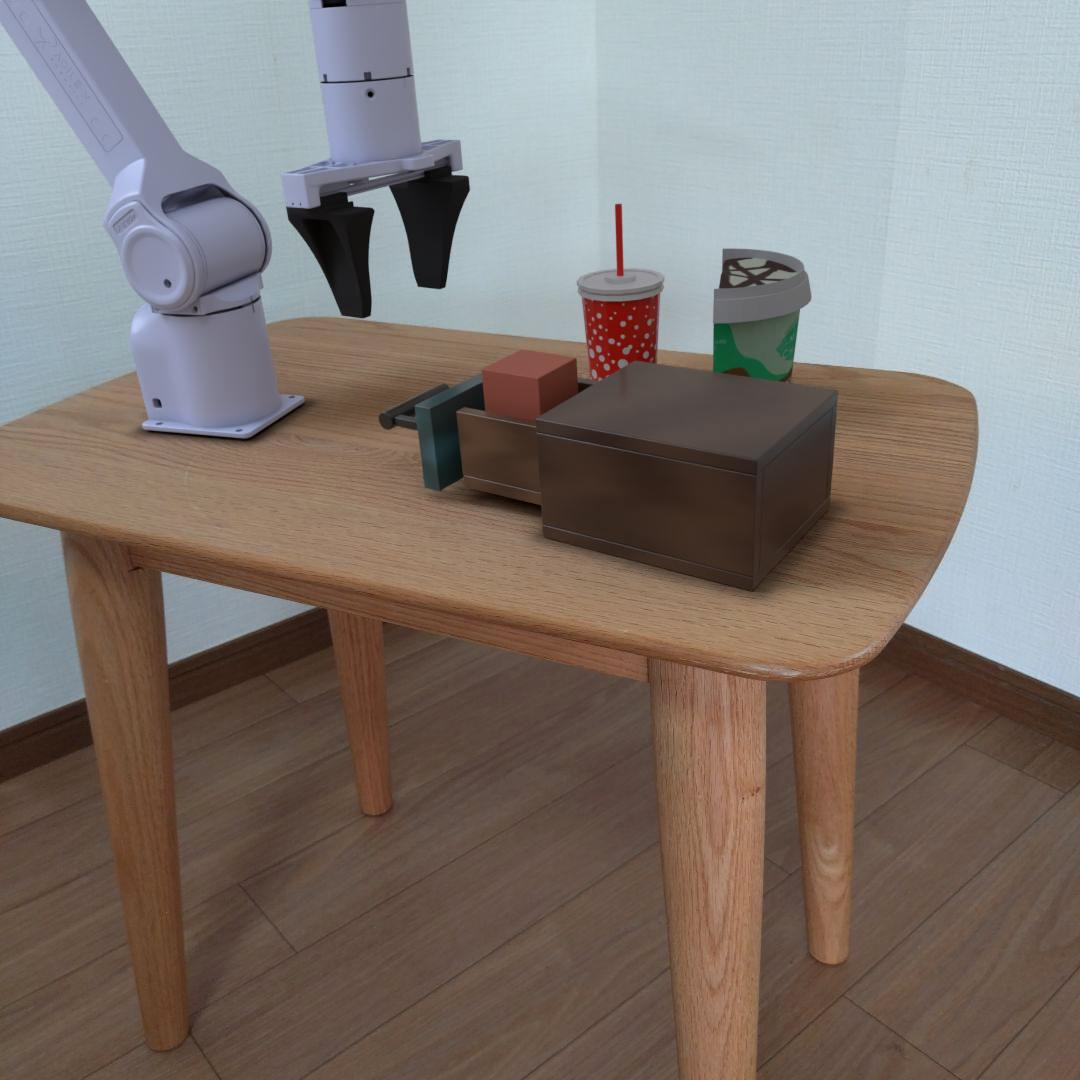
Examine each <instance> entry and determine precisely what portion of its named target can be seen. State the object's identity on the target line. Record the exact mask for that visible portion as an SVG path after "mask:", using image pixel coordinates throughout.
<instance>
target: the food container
mask: <svg viewBox="0 0 1080 1080" xmlns="http://www.w3.org/2000/svg"><path fill="white" fill-rule="evenodd" d="M721 255H722V256H721V257H722V258H721V274H720V278H719V283H718V288H713V308H712V312H713V313H712V324H713V330H712V331H713V333H712V334H713V335H712V337H713V338H712V339H713V341H712V342H713V343H712V344H713V345H712V348H713V349H712V359H713V360H712V372H717V373H724V374H731V375H738V376H745V377H752V378H759V379H766V380H773V381H780V382H787V383H792V376H793V369H794V361H795V354H796V353H795V352H796V347H797V346H796V345H797V339H798V331H799V324H800V323H799V322H800V314H801V309H803V308H804V307H806V306H808V305H809V304H810V302H811V301H812V297H813V296H812V291H811V283H810V278H809V274H808V272H807V271H806V270H805V265H804V262H803V261H801V260H800V259H799V258H796V257H795V256H792V255H789V254H785V253H782V252H777V251H772V250H766V249H765V250H764V249H755V248H754V249H753V248H722V254H721Z"/></svg>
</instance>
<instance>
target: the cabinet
mask: <svg viewBox="0 0 1080 1080" xmlns="http://www.w3.org/2000/svg"><path fill="white" fill-rule="evenodd" d="M838 399H839V389H834V388H829V387H823V386H822V387H821V386H814V385H807V384H800V383H792V382H791V383H787V382H780V381H773V380H766V379H759V378H752V377H745V376H738V375H731V374H724V373H717V372H713V371H711V370H710V371H709V370H703V369H698V368H697V369H696V368H690V367H683V366H675V365H668V364H661V363H657V364H655V363H648V362H641V361H633V362H632V363H630V364H628V365H626V366H625V367H623V368H621V369H619V370H618V371H616V372H614V373H613V374H611V375H609V376H607V377H606V378H604V379H602V380H601V381H599V382H597V383H595V384H594V385H592V386H590V387H589V388H587V389H585V390H583V391H582V392H580V393H578V394H576V395H575V396H573V397H571V398H570V399H568V400H566V401H564V402H563V403H561V404H559V405H558V406H556V407H554V408H552V409H551V410H549V411H547V412H546V413H544V414H542V415H540V416H539V417H537V418H536V419H535V423H536V432H537V433H536V438H537V452H538V467H539V482H540V496H541V505H540V509H541V523H542V536H543V538H546V539H551V540H556V541H558V542H562V543H566V544H568V545H569V544H570V545H574V546H578V547H580V548H585V549H588V550H593V551H597V552H600V553H605V554H608V555H612V556H616V557H620V558H624V559H628V560H630V561H635V562H639V563H642V564H646V565H651V566H654V567H658V568H662V569H665V570H670V571H674V572H677V573H681V574H685V575H690V576H693V577H696V578H700V579H705V580H707V581H712V582H716V583H720V584H723V585H727V586H730V587H731V586H732V587H735V588H739V589H742V590H746V591H750V592H752V591H754V589H756V588H757V587H758V586H759V584H761V582H762V581H763V580H764V579H765V578H766V577H767V575H769V573H771V572H772V571H773V569H775V567H776V566H777V565H778V564H779V563H780V562H781V561H782V560H783V558H784V557H786V555H787V554H788V553H790V551H791V550H792V549H793V548H794V547H795V546H796V544H798V542H799V541H801V540H802V539H803V537H804V536H805V535H806V534H807V533H808V532H809V531H810V530H811V528H812V527H813V526H814V525H815V524H816V523H817V522H818V521H819V520H820V519H821V518H822V517H823V516H824V514H825V513H827V511H829V509H830V508H831V507H830V506H831V494H832V481H833V470H834V469H833V467H834V454H835V441H836V440H835V439H836V427H837V417H838V416H837V414H838V402H839V401H838Z"/></svg>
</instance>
